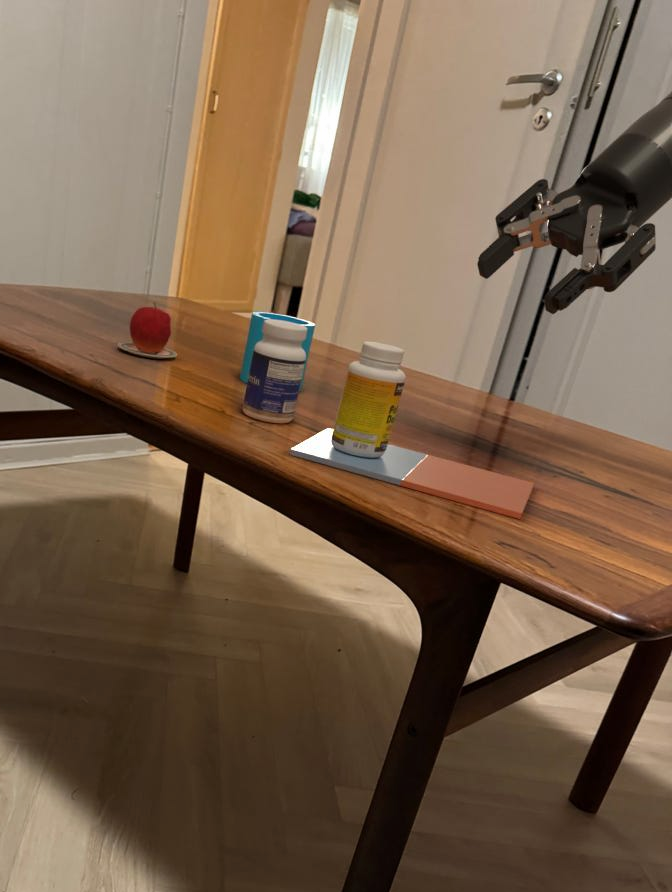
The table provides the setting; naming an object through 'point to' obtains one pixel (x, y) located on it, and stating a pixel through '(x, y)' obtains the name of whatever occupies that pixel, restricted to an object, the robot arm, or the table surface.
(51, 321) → the table surface
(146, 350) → the apple
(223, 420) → the table surface
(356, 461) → the sorting board
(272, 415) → the pill bottle
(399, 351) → the supplement bottle
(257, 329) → the mug
